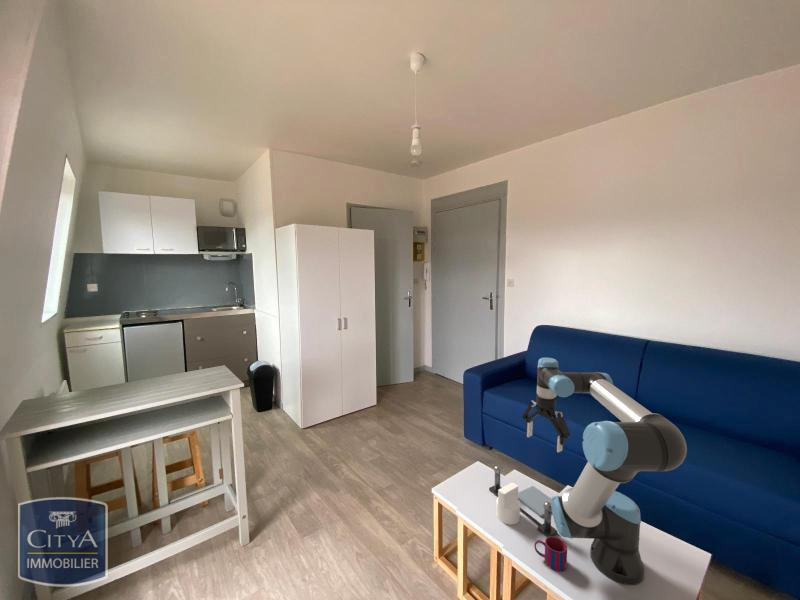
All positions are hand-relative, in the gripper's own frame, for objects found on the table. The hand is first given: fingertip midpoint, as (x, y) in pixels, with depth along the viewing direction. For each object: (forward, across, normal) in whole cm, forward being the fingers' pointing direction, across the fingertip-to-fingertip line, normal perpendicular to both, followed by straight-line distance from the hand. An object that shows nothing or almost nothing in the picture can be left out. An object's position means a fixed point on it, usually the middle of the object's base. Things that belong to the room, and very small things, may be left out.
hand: (543, 443), depth 138 cm
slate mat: (+26, 0, +3) cm, 26 cm away
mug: (+24, -19, +25) cm, 40 cm away
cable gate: (+26, +1, +13) cm, 29 cm away
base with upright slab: (+26, +2, +20) cm, 33 cm away
